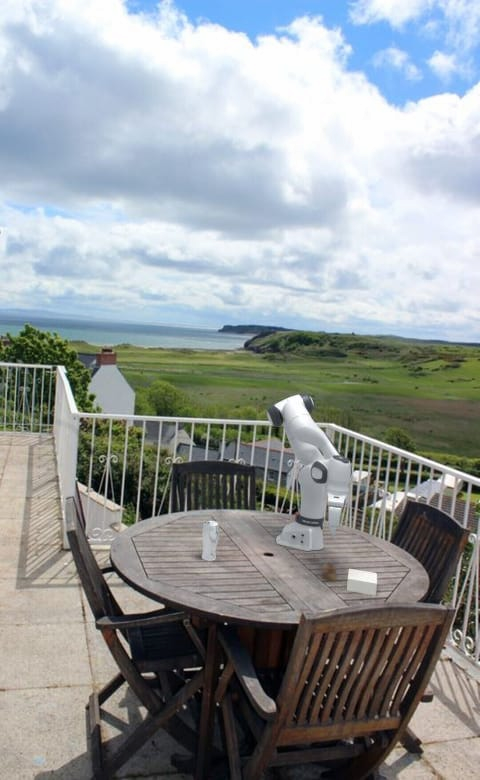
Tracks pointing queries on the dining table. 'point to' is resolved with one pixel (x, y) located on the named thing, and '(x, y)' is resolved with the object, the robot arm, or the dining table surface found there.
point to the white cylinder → (210, 540)
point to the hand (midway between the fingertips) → (333, 530)
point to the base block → (362, 582)
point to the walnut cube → (329, 572)
